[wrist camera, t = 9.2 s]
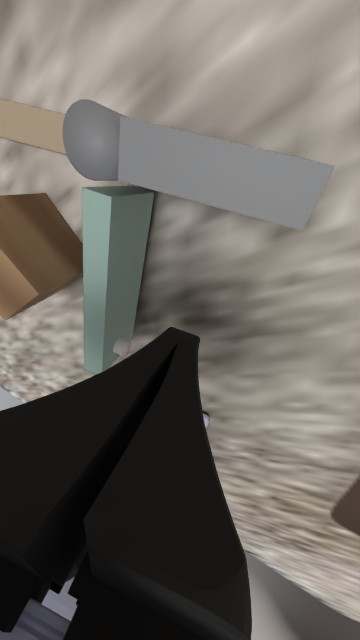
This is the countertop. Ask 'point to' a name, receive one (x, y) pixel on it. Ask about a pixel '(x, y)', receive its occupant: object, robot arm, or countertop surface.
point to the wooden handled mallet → (173, 160)
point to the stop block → (34, 252)
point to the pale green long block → (112, 269)
